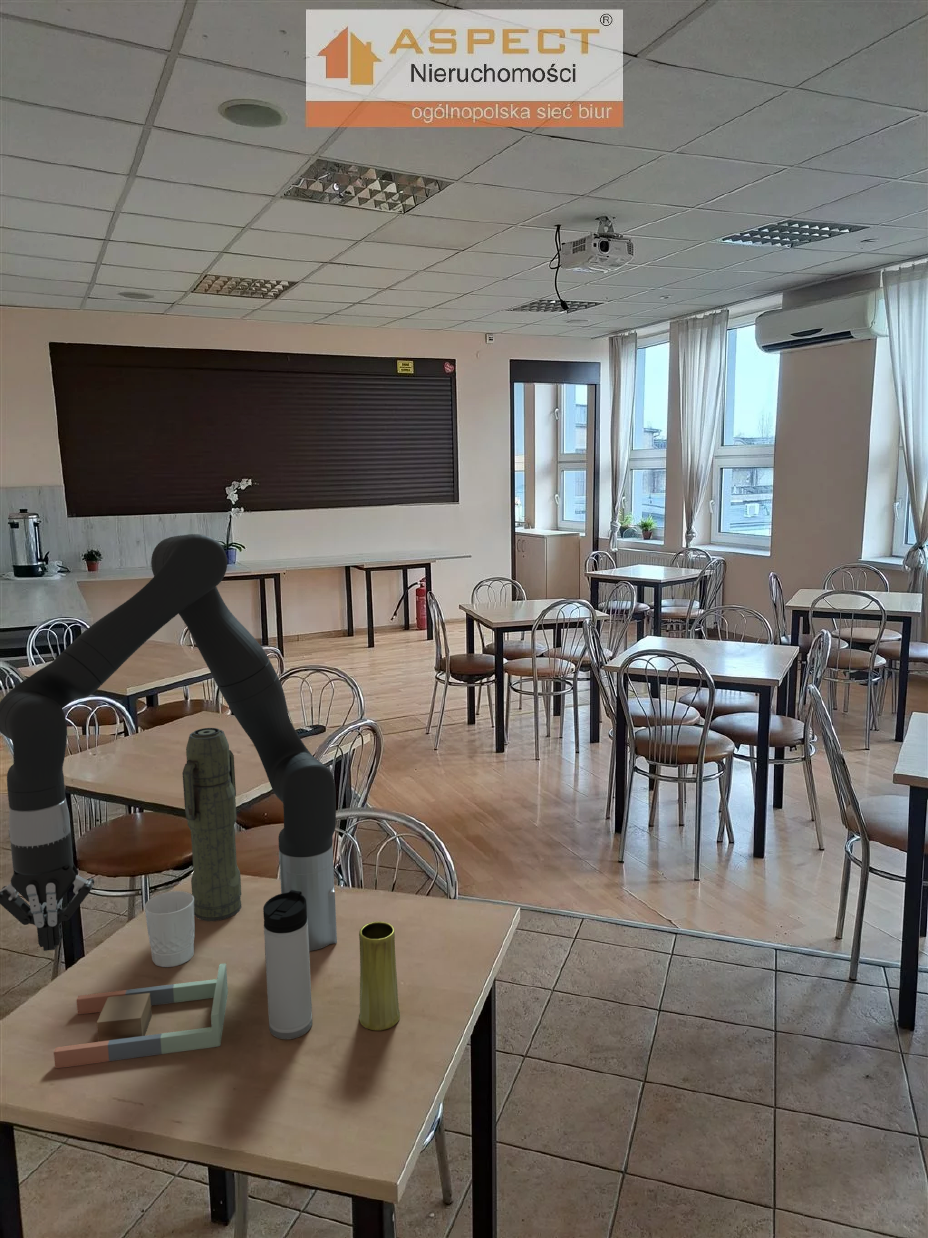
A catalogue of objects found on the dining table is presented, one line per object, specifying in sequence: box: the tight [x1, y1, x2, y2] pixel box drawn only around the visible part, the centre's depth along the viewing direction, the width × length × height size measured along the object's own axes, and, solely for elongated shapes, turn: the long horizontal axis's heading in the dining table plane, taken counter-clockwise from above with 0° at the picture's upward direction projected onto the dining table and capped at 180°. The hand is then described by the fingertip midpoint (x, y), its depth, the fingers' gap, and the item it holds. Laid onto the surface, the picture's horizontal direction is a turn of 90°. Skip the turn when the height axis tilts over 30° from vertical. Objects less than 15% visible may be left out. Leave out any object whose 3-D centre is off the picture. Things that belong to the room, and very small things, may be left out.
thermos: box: [182, 727, 242, 922], centre depth 154 cm, size 9×12×35 cm
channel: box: [53, 962, 229, 1069], centre depth 122 cm, size 22×13×5 cm, turn 101°
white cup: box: [144, 890, 196, 968], centre depth 140 cm, size 8×8×10 cm
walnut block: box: [96, 993, 153, 1042], centre depth 121 cm, size 6×6×4 cm
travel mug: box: [262, 890, 313, 1040], centre depth 121 cm, size 6×7×20 cm
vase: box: [358, 920, 401, 1032], centre depth 123 cm, size 6×6×14 cm
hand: (51, 947), depth 118 cm, fingers closed
